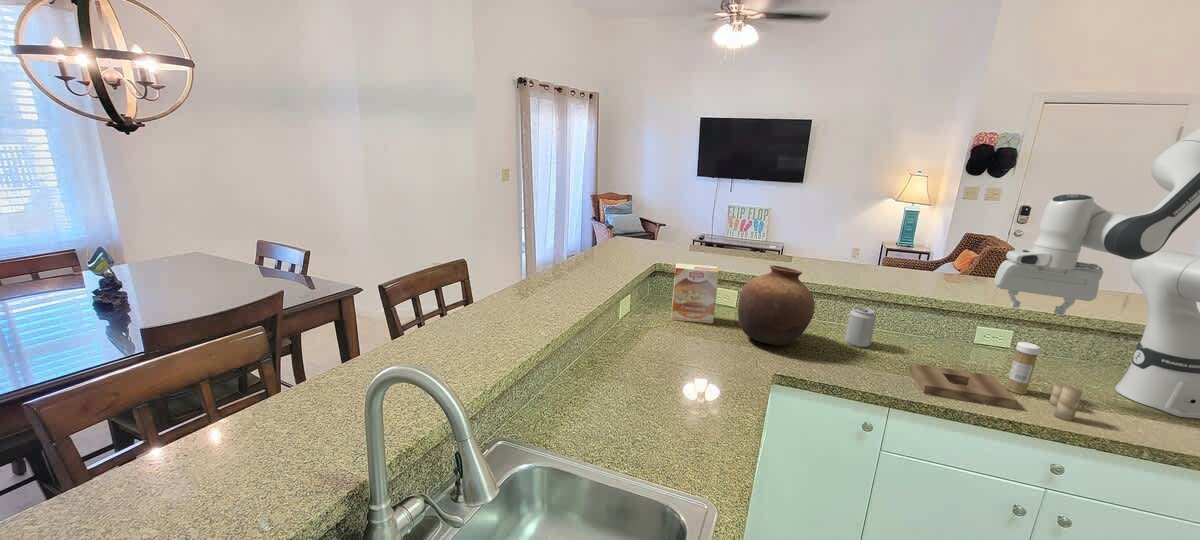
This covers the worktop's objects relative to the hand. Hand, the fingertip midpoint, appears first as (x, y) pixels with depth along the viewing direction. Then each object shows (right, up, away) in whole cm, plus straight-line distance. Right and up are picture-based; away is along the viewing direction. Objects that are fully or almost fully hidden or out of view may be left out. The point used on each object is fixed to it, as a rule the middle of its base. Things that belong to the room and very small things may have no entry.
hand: (1036, 310), depth 125 cm
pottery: (-58, -13, +32) cm, 67 cm away
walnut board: (-17, -22, +5) cm, 28 cm away
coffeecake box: (-80, -7, +49) cm, 94 cm away
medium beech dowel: (0, -26, -7) cm, 27 cm away
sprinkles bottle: (-1, -22, +5) cm, 23 cm away
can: (-29, -14, +32) cm, 46 cm away
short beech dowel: (+4, -24, -1) cm, 25 cm away
